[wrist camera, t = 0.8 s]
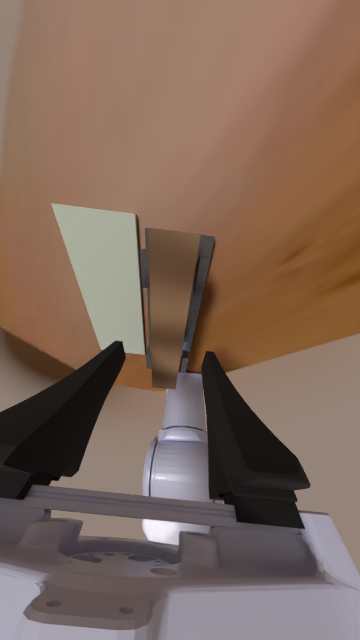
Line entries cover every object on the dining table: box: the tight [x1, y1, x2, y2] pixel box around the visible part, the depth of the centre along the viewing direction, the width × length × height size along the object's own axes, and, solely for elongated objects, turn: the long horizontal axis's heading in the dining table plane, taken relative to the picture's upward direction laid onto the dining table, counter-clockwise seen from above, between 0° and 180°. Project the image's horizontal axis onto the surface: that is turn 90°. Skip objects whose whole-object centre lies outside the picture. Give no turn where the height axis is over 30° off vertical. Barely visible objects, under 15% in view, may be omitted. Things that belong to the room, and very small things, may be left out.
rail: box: [148, 228, 201, 390], centre depth 14 cm, size 18×3×3 cm, turn 174°
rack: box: [140, 228, 215, 373], centre depth 16 cm, size 18×7×5 cm, turn 174°
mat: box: [51, 203, 145, 355], centre depth 18 cm, size 20×8×1 cm, turn 174°
